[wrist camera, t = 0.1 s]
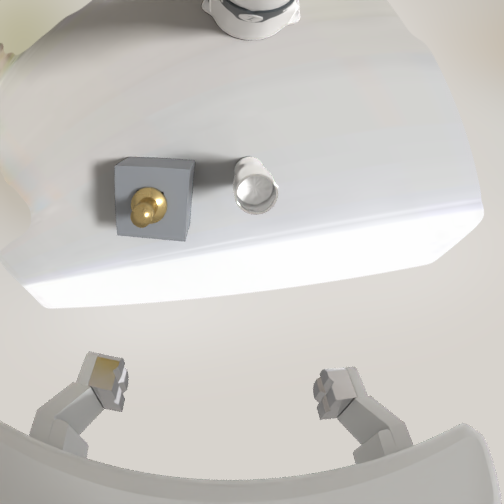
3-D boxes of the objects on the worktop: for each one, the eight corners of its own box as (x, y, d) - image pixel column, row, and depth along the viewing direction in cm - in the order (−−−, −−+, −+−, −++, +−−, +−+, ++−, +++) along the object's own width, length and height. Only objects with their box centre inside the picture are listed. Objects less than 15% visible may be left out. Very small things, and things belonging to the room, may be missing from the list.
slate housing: (129, 156, 49) (114, 165, 42) (195, 160, 51) (189, 169, 44) (129, 218, 56) (117, 235, 49) (189, 223, 58) (185, 241, 51)
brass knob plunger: (143, 174, 51) (120, 197, 39) (175, 176, 52) (160, 199, 40) (143, 205, 54) (122, 234, 43) (173, 207, 55) (160, 238, 44)
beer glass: (241, 192, 56) (245, 223, 43) (225, 163, 52) (225, 185, 39) (272, 178, 55) (286, 204, 42) (257, 148, 51) (268, 164, 38)
